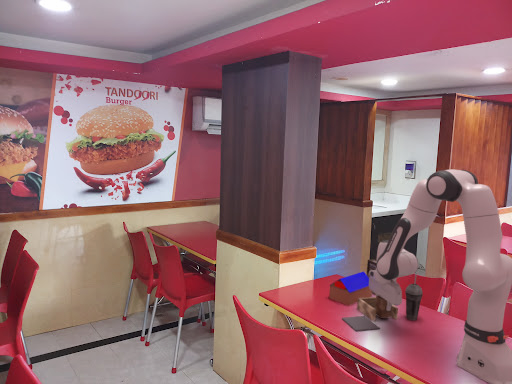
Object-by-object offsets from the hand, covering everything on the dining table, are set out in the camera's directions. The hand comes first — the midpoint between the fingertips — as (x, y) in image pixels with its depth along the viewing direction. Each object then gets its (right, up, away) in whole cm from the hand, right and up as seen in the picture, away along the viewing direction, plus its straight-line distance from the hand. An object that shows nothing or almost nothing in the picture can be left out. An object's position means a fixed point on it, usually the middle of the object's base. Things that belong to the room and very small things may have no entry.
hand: (383, 307), depth 182 cm
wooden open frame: (-2, -4, +6) cm, 7 cm away
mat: (-12, -5, -7) cm, 15 cm away
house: (-9, -2, +23) cm, 25 cm away
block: (0, -4, 0) cm, 4 cm away
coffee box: (+6, -1, +33) cm, 33 cm away
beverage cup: (+13, -5, +2) cm, 14 cm away
